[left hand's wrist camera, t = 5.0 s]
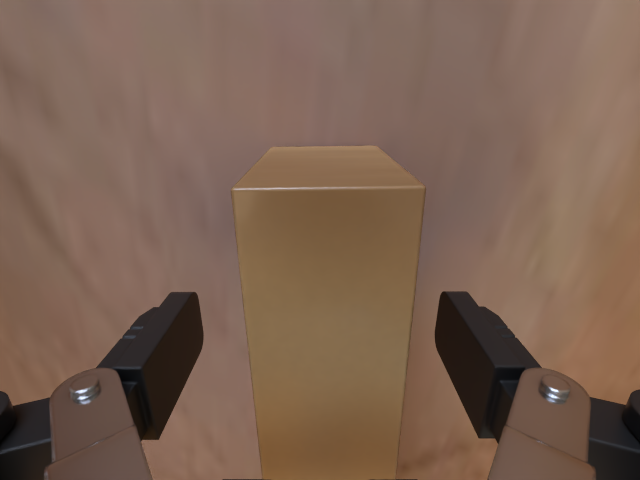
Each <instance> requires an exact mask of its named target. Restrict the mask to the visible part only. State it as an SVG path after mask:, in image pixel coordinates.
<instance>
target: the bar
mask: <svg viewBox="0 0 640 480" xmlns="http://www.w3.org/2000/svg"><path fill="white" fill-rule="evenodd" d="M425 193H426V187H425V185H423V184H422V183H421V182H420V181H419V180H417V179H416V178H415V177H414V176H412V175H411V174H410V173H409V172H408V171H406V170H405V169H404V168H403V167H402V166H400V165H399V164H398V163H397V162H395V161H394V160H393V159H392V158H391V157H389V156H388V155H387V154H386V153H385V152H383V151H382V150H381V149H380V148H379V147H377V146H309V147H271V148H270V149H269V150H268V151H267V152H266V153H265V154H264V155H263V156H262V157H261V158H260V160H259V161H258V162H257V163H256V164H255V165H254V166H253V167H252V168H251V169H250V170H249V171H248V172H247V173H246V174H245V175H244V176H243V177H242V178H241V179H240V180H239V181H238V182H237V183H236V184H235V185H234V186H233V187H232V189H231V196H232V205H233V214H234V224H235V233H236V242H237V251H238V260H239V269H240V279H241V288H242V297H243V306H244V315H245V324H246V334H247V343H248V352H249V361H250V370H251V379H252V388H253V398H254V407H255V416H256V425H257V434H258V443H259V453H260V462H261V471H262V479H271V480H369V479H396V470H397V461H398V451H399V442H400V432H401V423H402V413H403V404H404V394H405V384H406V375H407V365H408V356H409V346H410V337H411V327H412V317H413V308H414V298H415V289H416V279H417V270H418V260H419V251H420V241H421V231H422V222H423V212H424V203H425Z"/></svg>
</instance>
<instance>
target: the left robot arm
mask: <svg viewBox="0 0 640 480" xmlns="http://www.w3.org/2000/svg"><path fill="white" fill-rule="evenodd" d="M435 343H436V348H437V351H438V353H439V355H440V357H441V359H442V362H443V364H444V366H445V368H446V370H447V372H448V374H449V376H450V378H451V381H452V383H453V385H454V387H455V389H456V391H457V393H458V395H459V397H460V400H461V402H462V404H463V406H464V408H465V410H466V412H467V414H468V417H469V419H470V421H471V423H472V425H473V427H474V429H475V431H476V433H477V436H478V438H495V439H496V441H497V443H498V447H497V451H496V454H495V457H494V460H493V463H492V467H491V470H490V473H489V476H488V479H487V480H640V390H636V391H634V392H632V393H631V395H630V397H629V399H628V402H627V404H626V405H623V404H618V403H614V402H610V401H605V400H601V399H596V398H592V397H589V395H588V393H587V392H586V391H585V389H584V388H583V387H582V386H581V385H579V384H578V383H577V382H576V381H574V380H573V379H571V378H570V377H568V376H566V375H564V374H562V373H559V372H557V371H554V370H550V369H546V368H542V367H541V366H540V365H539V364H538V363H537V361H536V360H535V359H534V358H533V357H532V355H531V354H530V353H529V352H528V351H527V349H526V348H525V347H524V346H523V345H522V343H521V342H520V341H519V340H518V339H517V338H515V335H514V334H513V333H512V331H511V330H510V329H508V328H507V325H506V324H505V323H504V322H503V321H502V320H501V318H500V317H499V316H498V315H496V314H495V313H493V312H492V311H490V310H489V309H487V308H486V307H479V306H478V305H477V304H476V302H475V301H474V300H473V298H472V297H471V296H470V295H469V293H468V292H442V293H441V295H440V300H439V307H438V314H437V320H436V327H435ZM202 345H203V326H202V320H201V313H200V306H199V299H198V295H197V294H196V293H195V292H171V293H170V294H169V295H168V296H167V298H166V299H165V300H164V301H163V303H162V304H161V305H160V307H153V308H152V309H150V310H149V311H147V312H146V313H144V314H143V315H141V316H139V318H138V319H137V320H136V321H135V322H134V323H133V325H132V326H131V327H130V329H128V331H127V332H126V333H125V334H124V335H123V338H122V339H120V340H119V341H118V342H117V344H116V345H115V346H114V347H113V348H112V350H111V351H110V352H109V353H108V354H107V356H106V357H105V358H104V359H103V360H102V361H101V363H100V364H99V365H98V366H97V367H96V368H94V369H90V370H86V371H83V372H81V373H78V374H76V375H74V376H72V377H70V378H69V379H67V380H66V381H64V382H63V383H62V384H61V385H59V386H58V387H57V388H56V389H55V391H54V392H53V393H52V395H51V397H50V398H46V399H42V400H37V401H33V402H28V403H24V404H20V405H15V406H12V404H11V401H10V399H9V397H8V395H7V394H6V393H4V392H2V391H0V480H153V479H152V476H151V473H150V470H149V467H148V463H147V460H146V457H145V454H144V451H143V447H142V444H141V441H142V440H159V438H160V436H161V434H162V432H163V429H164V427H165V425H166V423H167V421H168V419H169V417H170V415H171V413H172V411H173V409H174V406H175V404H176V402H177V400H178V398H179V396H180V394H181V392H182V390H183V388H184V386H185V383H186V381H187V379H188V377H189V375H190V373H191V371H192V369H193V367H194V365H195V363H196V360H197V358H198V356H199V354H200V352H201V349H202ZM223 480H271V479H223ZM369 480H417V479H369Z"/></svg>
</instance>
